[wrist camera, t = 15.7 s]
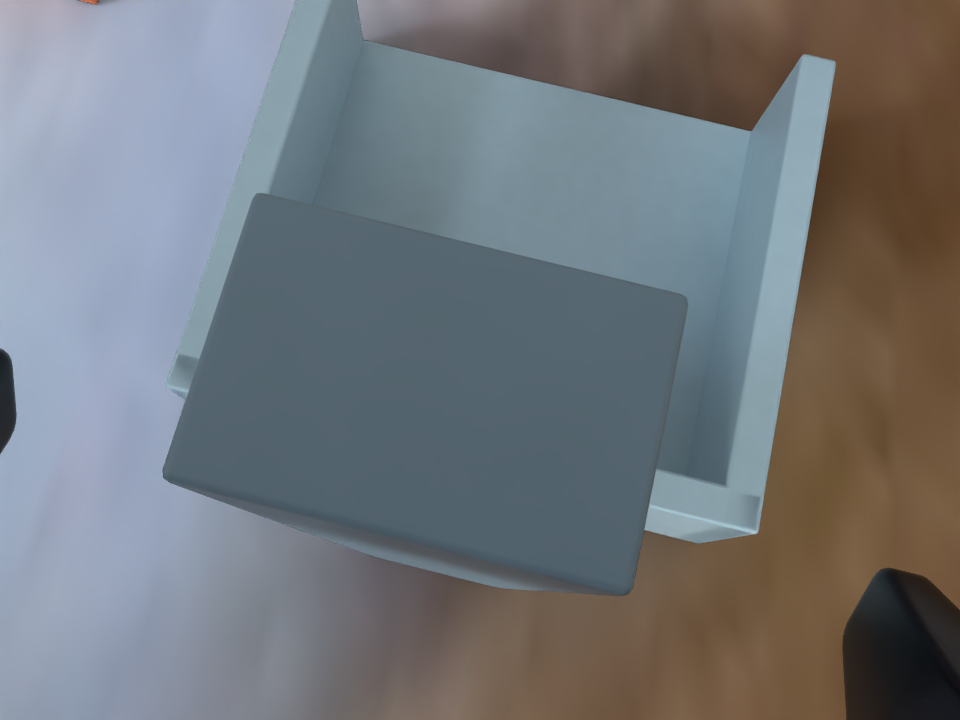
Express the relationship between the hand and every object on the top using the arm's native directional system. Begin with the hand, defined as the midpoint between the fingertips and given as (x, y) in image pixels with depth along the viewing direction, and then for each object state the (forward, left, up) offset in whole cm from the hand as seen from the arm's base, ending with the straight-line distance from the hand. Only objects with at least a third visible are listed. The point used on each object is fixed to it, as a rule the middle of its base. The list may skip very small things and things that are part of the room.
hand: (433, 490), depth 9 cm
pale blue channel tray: (+4, +3, -7) cm, 9 cm away
